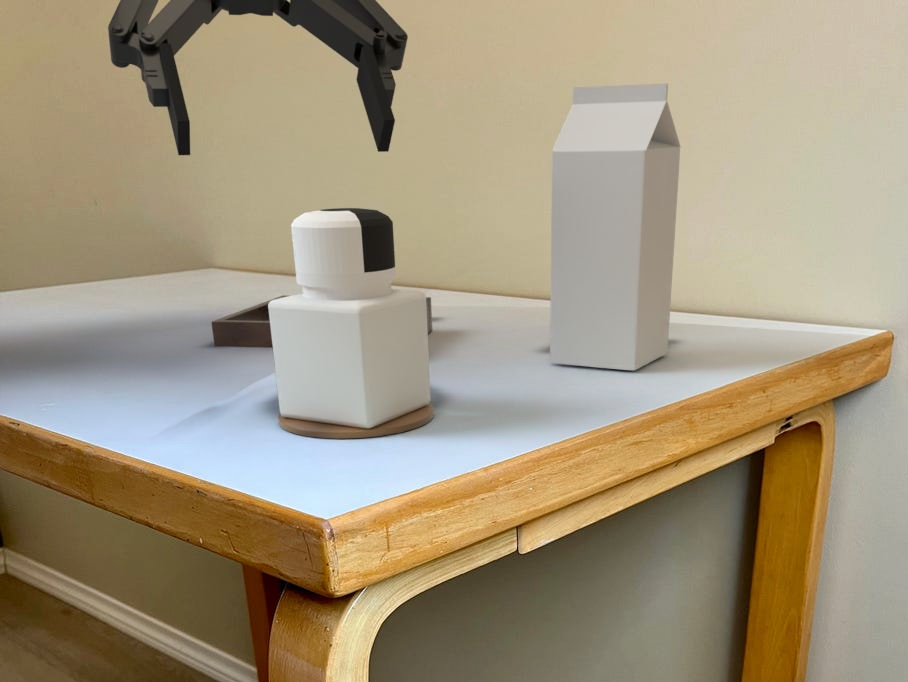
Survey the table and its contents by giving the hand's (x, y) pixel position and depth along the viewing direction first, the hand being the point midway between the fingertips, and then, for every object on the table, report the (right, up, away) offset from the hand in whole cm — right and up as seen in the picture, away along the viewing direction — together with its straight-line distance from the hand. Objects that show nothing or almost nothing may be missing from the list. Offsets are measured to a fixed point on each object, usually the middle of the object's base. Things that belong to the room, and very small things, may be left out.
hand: (288, 138), depth 67 cm
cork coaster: (+5, -19, -2) cm, 20 cm away
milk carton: (+23, -11, +12) cm, 29 cm away
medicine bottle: (+5, -19, -2) cm, 20 cm away
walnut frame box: (0, -7, +21) cm, 22 cm away
